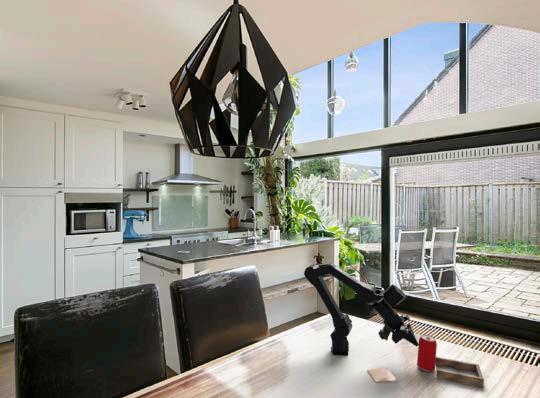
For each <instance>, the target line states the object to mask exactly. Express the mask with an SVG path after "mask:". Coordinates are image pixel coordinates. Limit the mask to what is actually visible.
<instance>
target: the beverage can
mask: <svg viewBox="0 0 540 398" xmlns="http://www.w3.org/2000/svg"><path fill="white" fill-rule="evenodd" d="M418 344H419V345H418V346H417V347H418V348H417V349H418V350H417V358H416V359H417V360H416V365H417V367H418V368H419V369H420V370H422V371H424V372H428V373H429V372H433V371H436V364H435V362H436V357H437V349H438V348H437V347H438V344H437V340H436V338H435V337H434V336H432V335H429V334H421V335H420V337H419V339H418Z"/></svg>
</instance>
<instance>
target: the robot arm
mask: <svg viewBox="0 0 540 398" xmlns="http://www.w3.org/2000/svg"><path fill="white" fill-rule="evenodd" d="M303 274H304V277H305V278H306V280H307V282H308V283H310V284H311V285H312V286H313V287H314V288H315V290H316V291H317V293H318V295H319V297H320V299H321V300H322V302H323V304H324V305H325V308H326V309H327V310H328V313H329V315H330V317H331V321H332V325H333V330H332V331H331V333H330V340H331V347H330V349H331V354H332V355H333V356H335V355H336V356H348V355H349V351H350V349H349V347H350V346H349V345H350V342H349V339H348V336H349V335H350V333H351V331H352V328H353V323H352V322H353V320H351V318H350V316H349V314H348V313H344V312H342V311H341V308H339V305H338V304H337V302H336V300H335V299H334V297H333V295H332V293H331V292H330V289H329V288H328V286H327V284H326V282H325V280H324V276H326V275H330V276H332V277H333V278H335V279H336V280H337V281H339V282H341V283H342V284H344V285H345V286H347V287H348V288H350V289H351V290H352V291H353V292H354V293H355V294H356V295H357V296H358V298H360V299H361V300H362V301H363V302H364V303H365V304H368V305H367V306H368V312H369V313H370V312H372V311H373V310H374V311H375V313H376V314H378V315H379V316H380V318H381V319H382V320H383V324H384V325H383V327H382V329H379V330H378V333H377V334H378V336H379V338H380V339H381V340H382V341H383V340H385V341H388V340H389V337H390V334H392V335H391V340H392V342H393V343H394V344H397V343H399V342H400V341H401V340H403V339H404V340H405V341H407V342H409V343H410V344H412V345H413V346H414V347H418V345H419V341H418V340H417V337H416V335H415V332H414V329H413V327H412V326H411V325H412V324H411V323H408V324H405V322H406V321H410V318H411V317H410V316H409V315H408V314H406V313H402V314H401V315H399V314H398V313H397V312H398V311H397V310H396V309H395V308H392V307H397V305H399V304H400V303H402V302H403V301H405V299H406V298H407V296H406V294H405V292H404V291H403V290H402V289H401V288H399V287H398V286H396V285H395V284H393V283H392V284H391V285H390V286H389V287H388V288H387V289H386V290H381V289H377V288H376V287H375V286H373V285H371V284H369V283H367V282H362V281H360V280H358V279H357V278H355V277H354V276H352V275H351V274H349V273H348V272H346V271H345V270H343V269H341V268H340V267H339V266H337V265H336V264H334V263H333V262H331V263H328V264H327V263H326V264H319V265H318V264H314V263H313V264H310V265H309V266H307V267H306V268H305V269H304V272H303Z"/></svg>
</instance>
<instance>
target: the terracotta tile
mask: <svg viewBox="0 0 540 398" xmlns="http://www.w3.org/2000/svg"><path fill="white" fill-rule="evenodd" d="M367 373H368V374H369V376H370V377H371V378H372V379H373V381H374V382H375V383H377V384H379V383H394V382H395V383H396V382H399V381H398V379H397V378H396V377H395V375H394V374H393V373H392V372H391V370H389V368H373V369H367Z"/></svg>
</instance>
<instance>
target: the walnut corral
mask: <svg viewBox="0 0 540 398" xmlns="http://www.w3.org/2000/svg"><path fill="white" fill-rule="evenodd" d="M435 366H437V368H435V371H436V375H435V376H436V377H435V378H436V379H439V380H445V381H449V382H454V383H457V384H458V383H459V384H463V385H466V386H467V385H468V386H472V387H473V386H474V387H477V388H483V389H484V388H485V386H484V383H485V382H484V377H483V376H484V375H483V373H482V369H481V366H480V364H479V363H473V362H468V361H463V360H456V359H452V358H446V357H440V356H436V362H435Z"/></svg>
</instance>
